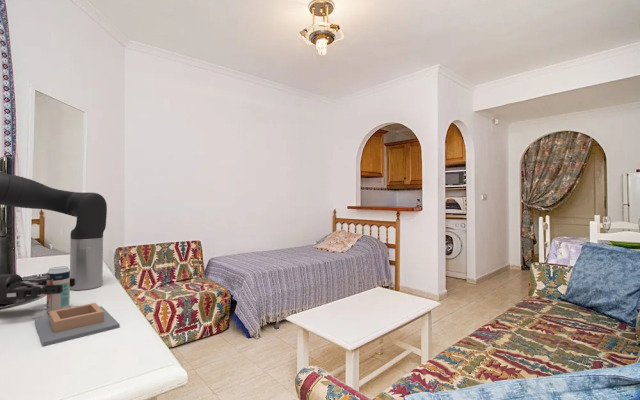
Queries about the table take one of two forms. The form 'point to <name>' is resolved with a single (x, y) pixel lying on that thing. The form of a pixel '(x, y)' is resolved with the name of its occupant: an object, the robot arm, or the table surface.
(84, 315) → the socket plate
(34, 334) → the table surface
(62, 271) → the beer can
